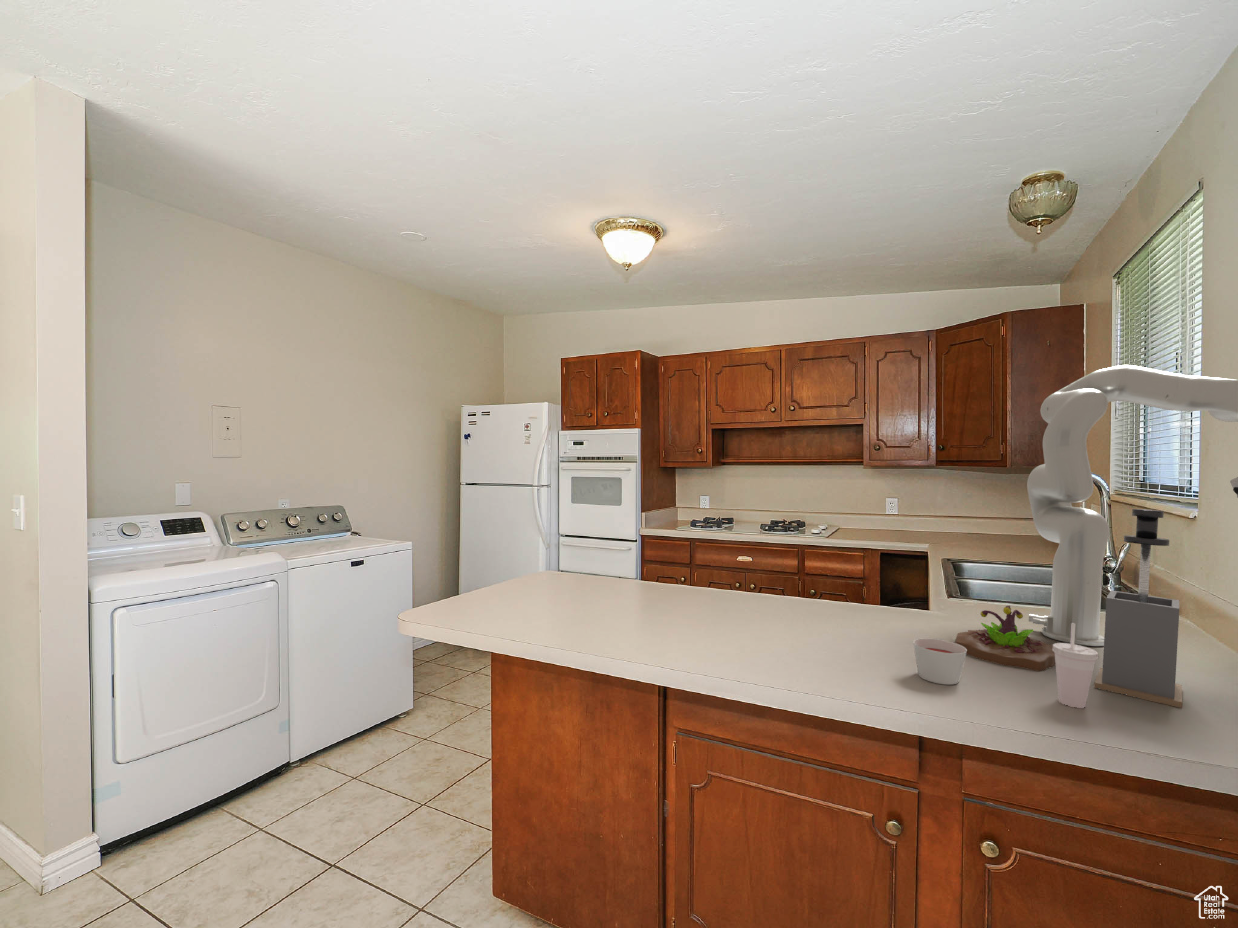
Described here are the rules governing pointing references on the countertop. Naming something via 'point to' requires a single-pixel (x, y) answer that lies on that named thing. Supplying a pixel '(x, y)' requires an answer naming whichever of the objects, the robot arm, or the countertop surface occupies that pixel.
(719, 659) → the countertop surface
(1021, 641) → the plant
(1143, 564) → the plunger
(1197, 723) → the countertop surface
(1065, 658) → the smoothie
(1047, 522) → the robot arm
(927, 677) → the candle
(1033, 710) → the countertop surface
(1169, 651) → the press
